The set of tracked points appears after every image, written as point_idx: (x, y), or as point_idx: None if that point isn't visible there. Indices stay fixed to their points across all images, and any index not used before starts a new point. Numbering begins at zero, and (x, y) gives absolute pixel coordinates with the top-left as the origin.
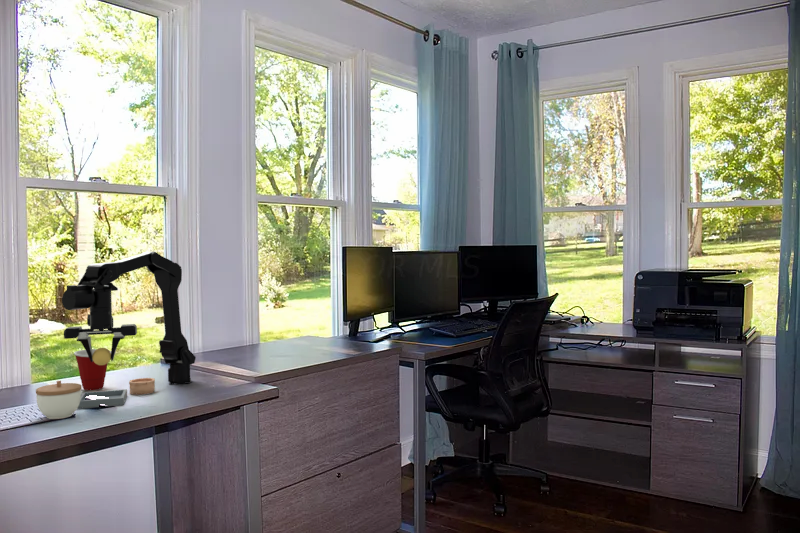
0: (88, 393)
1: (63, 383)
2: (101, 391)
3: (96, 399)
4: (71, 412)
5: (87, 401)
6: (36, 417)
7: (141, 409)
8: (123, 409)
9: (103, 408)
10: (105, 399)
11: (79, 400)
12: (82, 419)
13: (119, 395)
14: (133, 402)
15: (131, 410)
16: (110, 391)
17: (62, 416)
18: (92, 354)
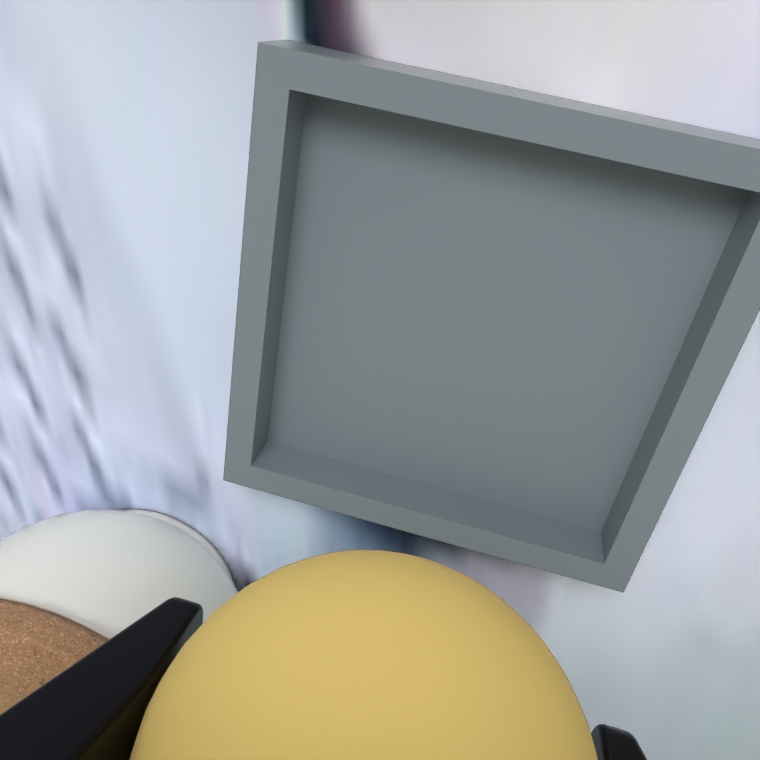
0: (325, 96)
1: (24, 672)
2: (480, 114)
3: (388, 504)
4: None
5: (314, 500)
6: (21, 518)
7: (695, 737)
8: (577, 664)
9: (446, 551)
10: (463, 547)
11: None
12: None
13: (688, 196)
14: (730, 505)
15: (621, 719)
16: (591, 153)
17: None
18: (116, 738)
